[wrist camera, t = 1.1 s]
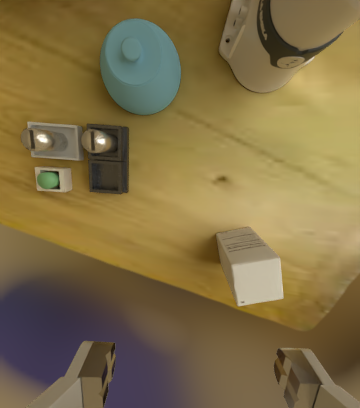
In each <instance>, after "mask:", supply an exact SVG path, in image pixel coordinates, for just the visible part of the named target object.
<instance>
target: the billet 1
mask: <svg viewBox="0 0 360 408" xmlns="http://www.w3.org/2000/svg"><path fill="white" fill-rule="evenodd" d="M21 141H22V143H23V145H24V146H25V147H26V148H27V149H28V150H30V151H64V150H66V149H67V147H68V140H67V138H66V136H65V135H64V134H62V133H60V132H54V131H48V130H42V129H36V128H26V129H25V130H23V132H22V134H21Z"/></svg>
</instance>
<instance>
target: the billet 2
mask: <svg viewBox="0 0 360 408" xmlns="http://www.w3.org/2000/svg"><path fill="white" fill-rule="evenodd" d="M81 142H82V145H83V147H84V148H85V149H86V150H87V151H88V152H91V153H112V152H114V151H115V150H116V149H117V147H118V141H117V139H116V137H115V136H114V135H112V134H109V133H106V132H102V131H98V130H95V129H88V130H86V131H85V132H84V133H83V135H82V138H81Z"/></svg>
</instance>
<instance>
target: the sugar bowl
mask: <svg viewBox="0 0 360 408" xmlns="http://www.w3.org/2000/svg"><path fill="white" fill-rule="evenodd" d="M100 69H101V74H102V78H103V81H104V84H105V86H106V88H107V91H108V92H109V94H110V96H111V97H112V98H113V100H114V101H115V102H116V103H117V104H118V105H119V106H121V107H122V108H123V109H125V110H127V111H128V112H131V113H134V114H138V115H150V114H154V113H157V112H159V111H161V110H163V109H164V108H166V107H167V106H168V105H169V104H170V103H171V102H172V100H173V99H174V97H175V96H176V94H177V92H178V89H179V85H180V80H181V66H180V60H179V56H178V53H177V51H176V48H175V46H174V44H173V42H172V41H171V39H170V38H169V36H168V35H167V34H166V33H165V32H164V31H163V30H162V29H161V28H160V27H158V26H157V25H155V24H154V23H152V22H150V21H147V20H143V19H128V20H124V21H122V22H120V23H118V24H117V25H115V26H114V27H113V28H112V29H111V30H110V31H109V33H108V34H107V36H106V37H105V39H104V42H103V44H102V48H101V53H100Z"/></svg>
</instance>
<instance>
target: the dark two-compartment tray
mask: <svg viewBox="0 0 360 408" xmlns="http://www.w3.org/2000/svg"><path fill="white" fill-rule="evenodd" d="M88 129H95V130H98V131H102V132H106V133H109V134H112V135H114V136H115V137H116V139H117V141H118V147H117V149H116V150H115V151H114V152H112V153H91V152H88V158H89V159H90V160H88V163H89V185H90V192H99V193H113V194H122V193H123V192H125V193H127V192H128V180H129V128H128V127H121V126H110V125H98V124H87V130H88Z"/></svg>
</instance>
